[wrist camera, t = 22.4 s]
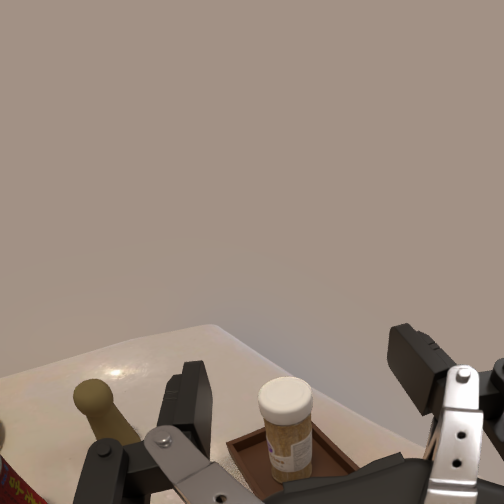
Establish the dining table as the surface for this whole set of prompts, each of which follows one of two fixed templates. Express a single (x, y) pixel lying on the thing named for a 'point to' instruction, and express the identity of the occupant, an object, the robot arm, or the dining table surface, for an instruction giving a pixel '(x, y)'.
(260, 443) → the serving tray
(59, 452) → the dining table surface
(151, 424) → the dining table surface
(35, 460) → the dining table surface
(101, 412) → the chess piece
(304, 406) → the sprinkles bottle
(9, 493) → the soda can
